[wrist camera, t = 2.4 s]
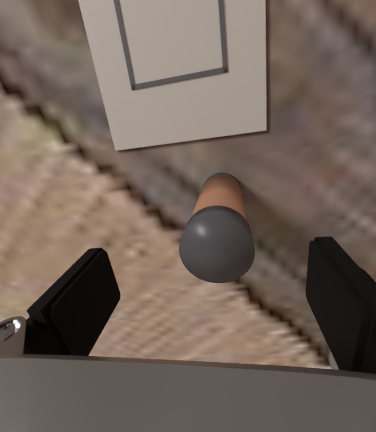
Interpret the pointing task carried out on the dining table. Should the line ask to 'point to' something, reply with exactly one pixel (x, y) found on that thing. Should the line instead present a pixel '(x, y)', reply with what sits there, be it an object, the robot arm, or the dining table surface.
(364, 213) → the dining table surface
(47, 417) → the robot arm
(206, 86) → the paper sheet
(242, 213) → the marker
